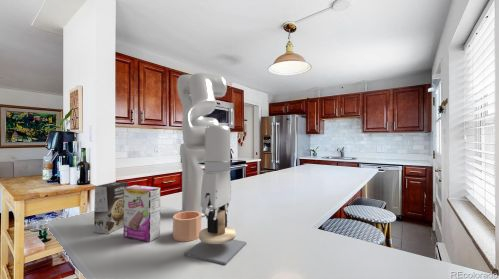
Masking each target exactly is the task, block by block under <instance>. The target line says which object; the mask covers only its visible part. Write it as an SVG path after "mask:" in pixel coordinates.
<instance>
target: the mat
mask: <svg viewBox="0 0 499 279" xmlns="http://www.w3.org/2000/svg"><path fill="white" fill-rule="evenodd" d="M246 245H247V241H245V240H239V239H235V238H234V239H233V240H231V241H229V242H226V243H221V244H209V243H204V242H202V241H201V240H200V241H199V242H198V243H196V244H195V245H193V246H192V247H190V248H189V249H188V250H186V251H185V252H184V255H186V256H189V257H192V258H197V259H201V260H204V261H209V262H213V263H217V264H219V265H223V266H226V265H227V264H228V263H229V262H230V261H231V260H232V259H233V258H234V257H235V256H236V255H237V254H238V253H239V252H240V251H241V250H242V249H243V248H244V247H245V246H246Z"/></svg>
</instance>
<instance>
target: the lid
mask: <svg viewBox="0 0 499 279" xmlns="http://www.w3.org/2000/svg"><path fill="white" fill-rule="evenodd" d="M211 211H212V213H214V210H211ZM217 219H218V233H217V234H214V233H208V231H207V227H206V228H203V229H201V231H200V232H199V238H198V239H199V241H200V242H201V241H202V242H204V243H209V244H221V243H226V242H229V241H231V240H233V239H234V240H235V239H236V230H235V229H234V228H233V227H230V226H227V227H226V228H225V211H224V210H218V211H217Z"/></svg>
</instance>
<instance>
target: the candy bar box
mask: <svg viewBox="0 0 499 279" xmlns="http://www.w3.org/2000/svg"><path fill="white" fill-rule="evenodd" d="M160 236H161V187H155V186H146V185H137V184H135V185H134V184H133V185H130V186H129V185H128V187H125V188H124V227H123V238H128V239H132V240H138V241H143V242H147V243H150V242H153V241H154V240H156V239H158V238H159V237H160Z"/></svg>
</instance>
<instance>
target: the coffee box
mask: <svg viewBox="0 0 499 279" xmlns="http://www.w3.org/2000/svg"><path fill="white" fill-rule="evenodd" d="M125 187H129V182H127V181H126V182H125V181H113V182H108V183H104V184H98V185H95V186H94V211H93V212H94V214H93V216H94V217H93V219H94V220H93V233H95V234H96V233H97V234H106V235H107V234H112V233H113V232H115V231H118V230H120V229H122V228H124V188H125Z"/></svg>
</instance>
